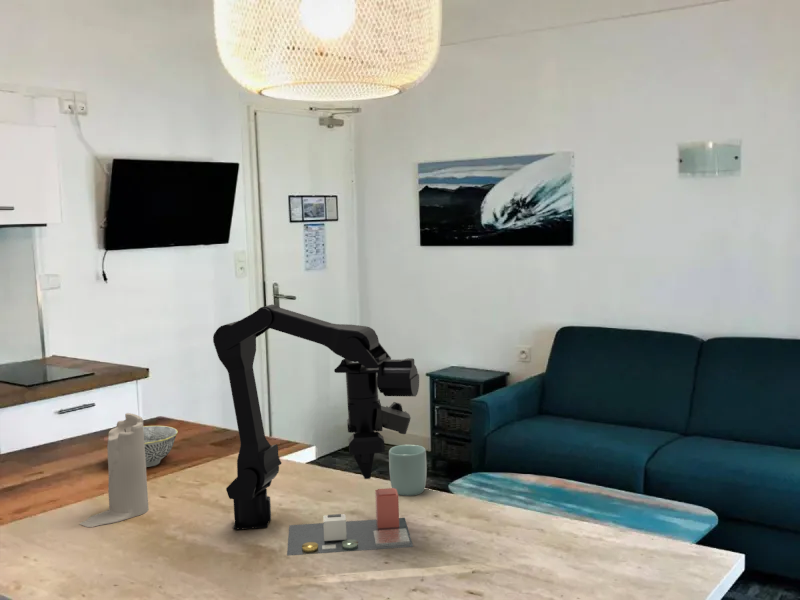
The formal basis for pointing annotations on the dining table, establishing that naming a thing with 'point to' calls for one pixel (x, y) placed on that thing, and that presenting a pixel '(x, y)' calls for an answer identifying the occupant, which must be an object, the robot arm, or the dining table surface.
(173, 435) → the bowl
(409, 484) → the cup
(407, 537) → the panel
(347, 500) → the dining table surface
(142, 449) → the grey tall curved piece
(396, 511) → the cap
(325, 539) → the block
